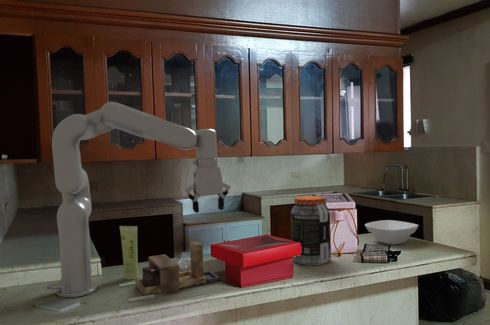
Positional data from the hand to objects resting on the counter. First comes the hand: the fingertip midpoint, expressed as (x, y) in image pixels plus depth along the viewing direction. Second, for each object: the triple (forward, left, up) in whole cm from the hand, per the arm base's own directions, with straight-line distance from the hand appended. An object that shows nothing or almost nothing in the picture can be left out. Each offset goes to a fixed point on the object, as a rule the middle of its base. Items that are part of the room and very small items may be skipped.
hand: (208, 210), depth 154 cm
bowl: (+92, +4, -25) cm, 96 cm away
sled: (-15, 0, -24) cm, 28 cm away
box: (-21, 0, -25) cm, 32 cm away
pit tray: (-1, 0, -25) cm, 25 cm away
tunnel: (-18, 0, -25) cm, 30 cm away
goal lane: (-27, 0, -25) cm, 37 cm away
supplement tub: (+43, -1, -25) cm, 50 cm away
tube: (-26, +16, -25) cm, 39 cm away
